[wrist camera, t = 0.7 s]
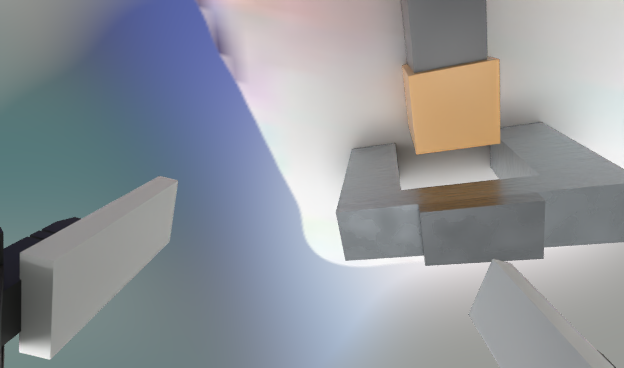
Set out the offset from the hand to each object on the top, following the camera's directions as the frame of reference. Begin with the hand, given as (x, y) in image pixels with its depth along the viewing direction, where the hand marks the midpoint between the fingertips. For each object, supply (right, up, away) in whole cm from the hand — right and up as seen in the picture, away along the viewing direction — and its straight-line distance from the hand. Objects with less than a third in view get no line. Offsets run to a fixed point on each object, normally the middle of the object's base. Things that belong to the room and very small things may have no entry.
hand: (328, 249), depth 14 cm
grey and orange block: (+10, +18, +17) cm, 27 cm away
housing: (+13, +6, +22) cm, 26 cm away
